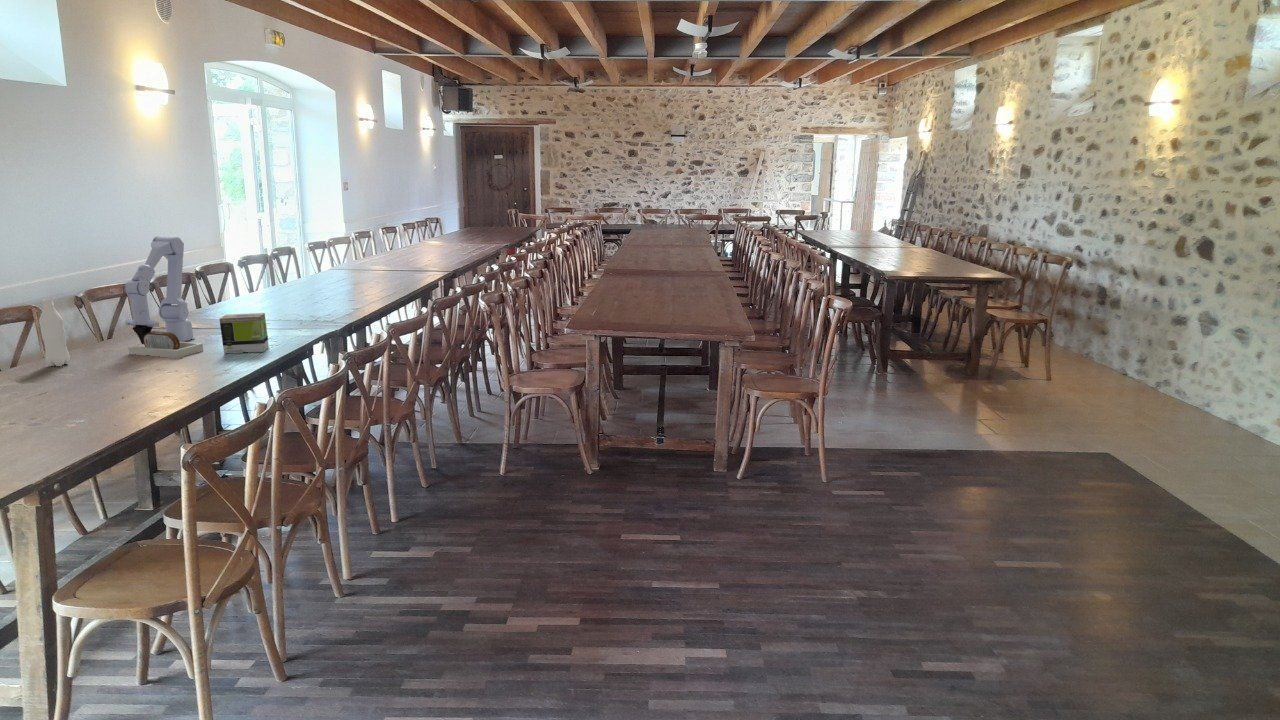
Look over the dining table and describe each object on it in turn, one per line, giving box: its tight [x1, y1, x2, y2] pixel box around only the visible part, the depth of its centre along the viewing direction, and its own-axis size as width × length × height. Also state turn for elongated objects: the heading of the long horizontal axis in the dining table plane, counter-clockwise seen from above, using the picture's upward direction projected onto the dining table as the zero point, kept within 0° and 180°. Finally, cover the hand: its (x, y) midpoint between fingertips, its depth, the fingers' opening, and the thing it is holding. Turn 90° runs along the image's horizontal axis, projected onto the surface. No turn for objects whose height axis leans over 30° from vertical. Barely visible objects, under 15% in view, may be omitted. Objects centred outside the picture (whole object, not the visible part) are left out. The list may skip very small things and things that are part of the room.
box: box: [127, 341, 204, 359], centre depth 304 cm, size 13×23×3 cm, turn 76°
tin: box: [143, 330, 180, 350], centre depth 303 cm, size 15×3×8 cm, turn 78°
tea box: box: [218, 312, 270, 355], centre depth 308 cm, size 15×10×15 cm, turn 105°
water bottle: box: [38, 298, 71, 367], centre depth 280 cm, size 7×7×25 cm
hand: (145, 343), depth 306 cm, fingers closed
